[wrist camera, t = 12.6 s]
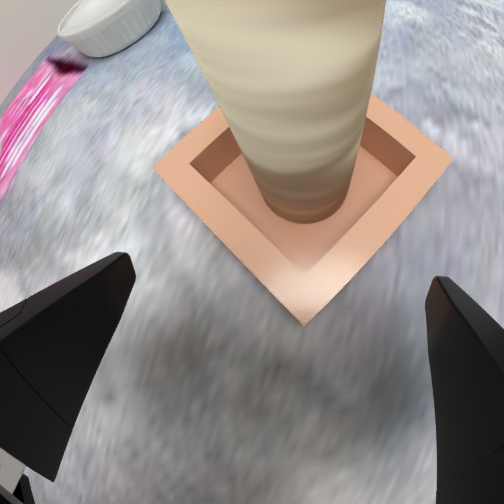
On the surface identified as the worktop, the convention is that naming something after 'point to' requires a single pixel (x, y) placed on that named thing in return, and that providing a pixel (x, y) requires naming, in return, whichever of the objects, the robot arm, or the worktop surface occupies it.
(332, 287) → the tray
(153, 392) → the worktop surface
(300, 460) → the worktop surface
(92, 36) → the ramekin
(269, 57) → the vase
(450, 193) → the worktop surface
